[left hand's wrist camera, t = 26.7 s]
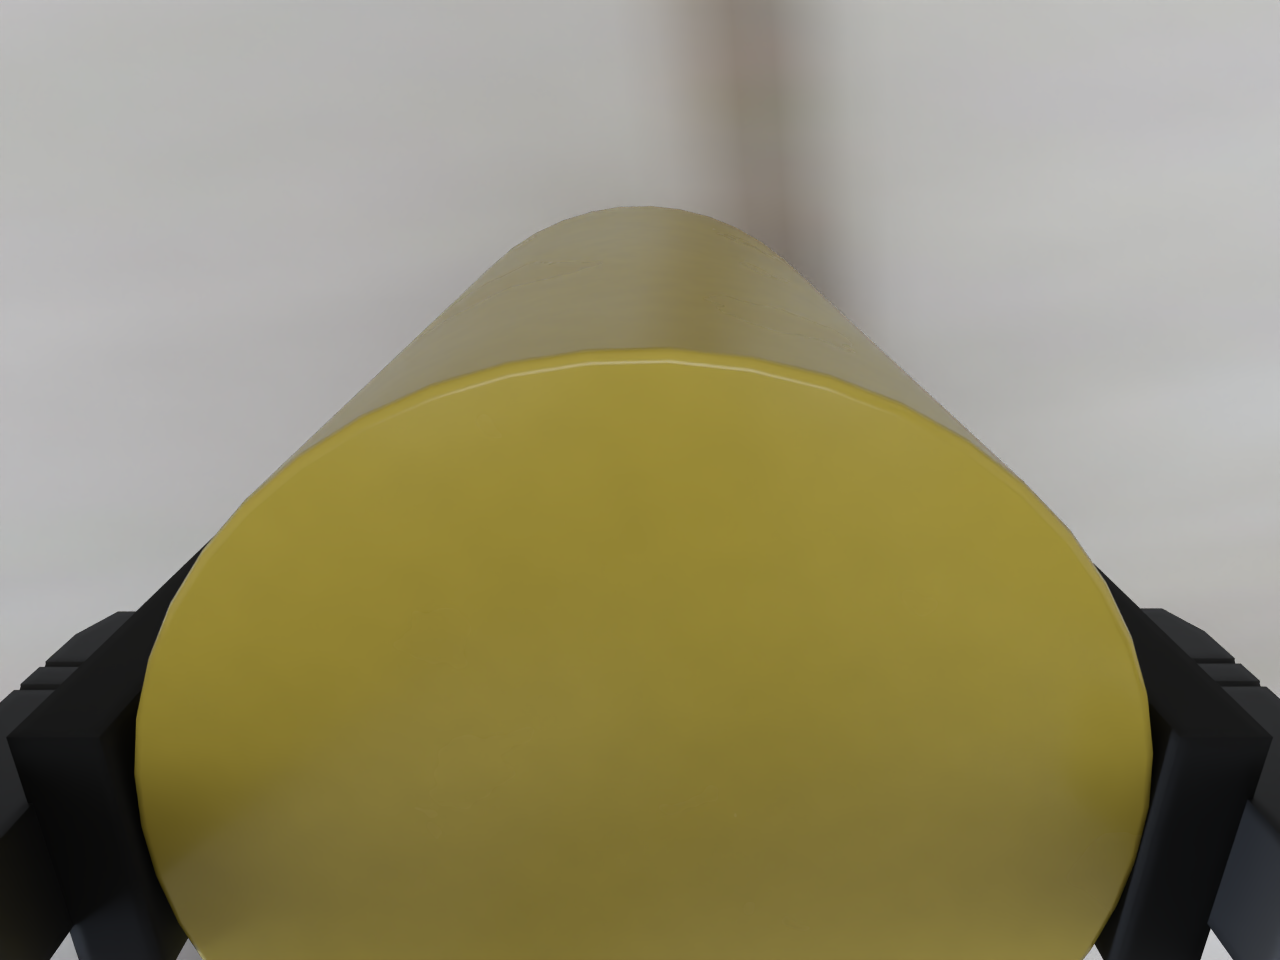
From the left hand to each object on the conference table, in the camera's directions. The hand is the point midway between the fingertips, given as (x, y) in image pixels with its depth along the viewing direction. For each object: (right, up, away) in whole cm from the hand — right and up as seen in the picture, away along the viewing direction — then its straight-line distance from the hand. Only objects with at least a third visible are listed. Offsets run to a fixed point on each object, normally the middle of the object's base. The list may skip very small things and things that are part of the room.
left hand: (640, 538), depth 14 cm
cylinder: (0, +2, +5) cm, 5 cm away
